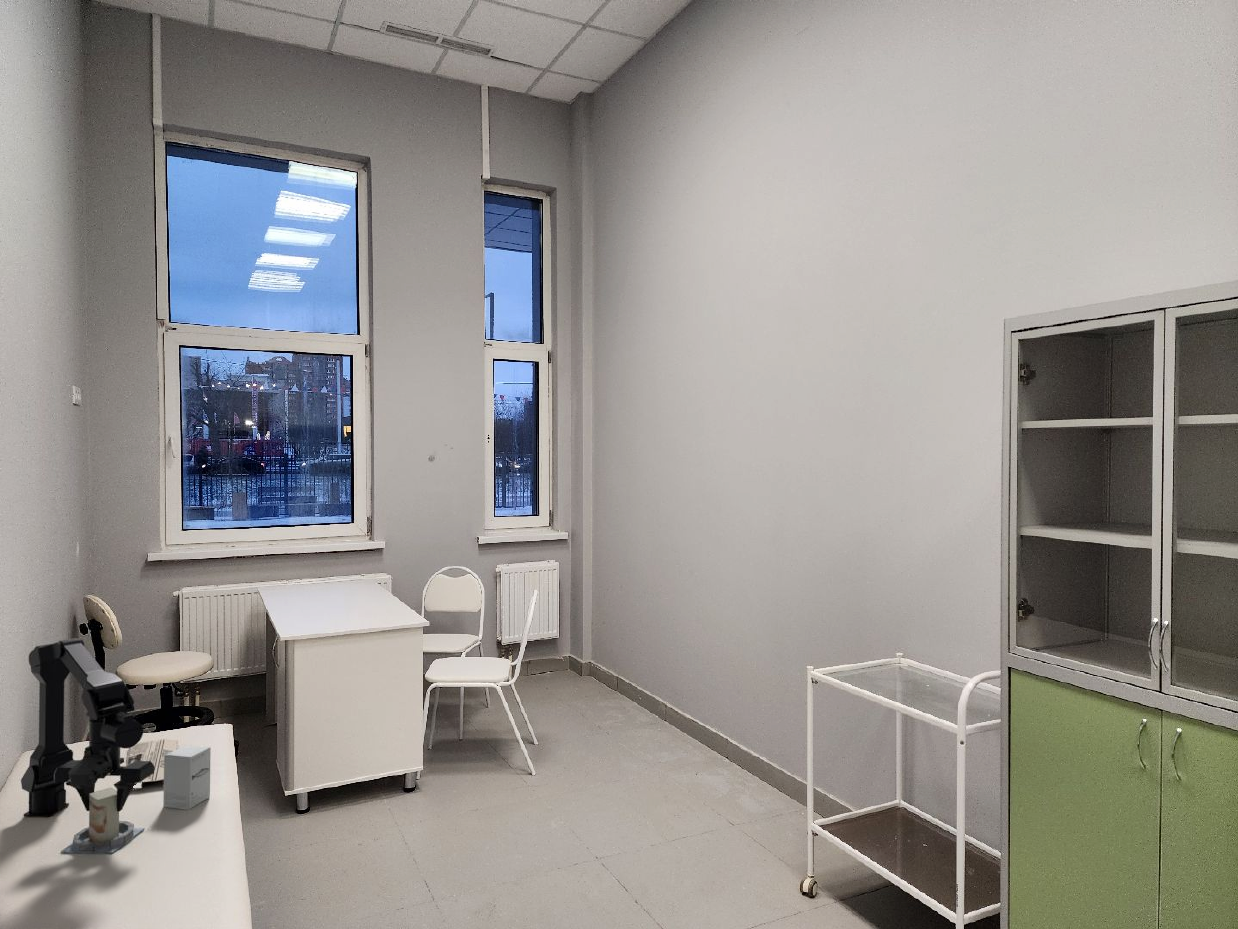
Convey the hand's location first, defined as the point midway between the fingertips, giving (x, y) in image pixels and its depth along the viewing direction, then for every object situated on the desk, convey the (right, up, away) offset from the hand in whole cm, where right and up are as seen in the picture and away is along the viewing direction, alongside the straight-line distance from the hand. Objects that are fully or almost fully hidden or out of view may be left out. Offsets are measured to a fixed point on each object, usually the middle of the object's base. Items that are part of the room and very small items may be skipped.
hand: (104, 810), depth 173 cm
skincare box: (0, -6, 0) cm, 6 cm away
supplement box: (+7, -7, +20) cm, 22 cm away
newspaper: (-14, -7, +42) cm, 45 cm away
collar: (0, -7, 0) cm, 7 cm away
